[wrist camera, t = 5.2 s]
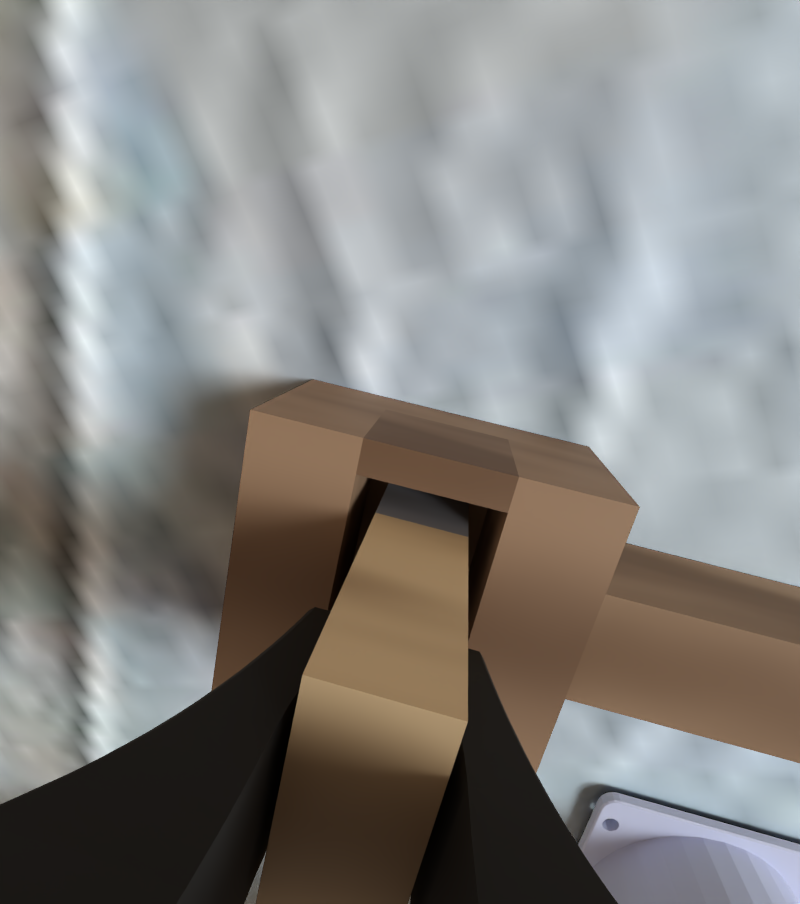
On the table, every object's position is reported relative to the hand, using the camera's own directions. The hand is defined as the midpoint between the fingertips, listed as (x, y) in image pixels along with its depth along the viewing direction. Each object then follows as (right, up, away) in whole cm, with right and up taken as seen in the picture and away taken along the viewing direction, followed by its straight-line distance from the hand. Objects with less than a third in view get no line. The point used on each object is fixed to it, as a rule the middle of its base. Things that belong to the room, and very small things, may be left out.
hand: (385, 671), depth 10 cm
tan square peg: (+1, +1, +4) cm, 5 cm away
